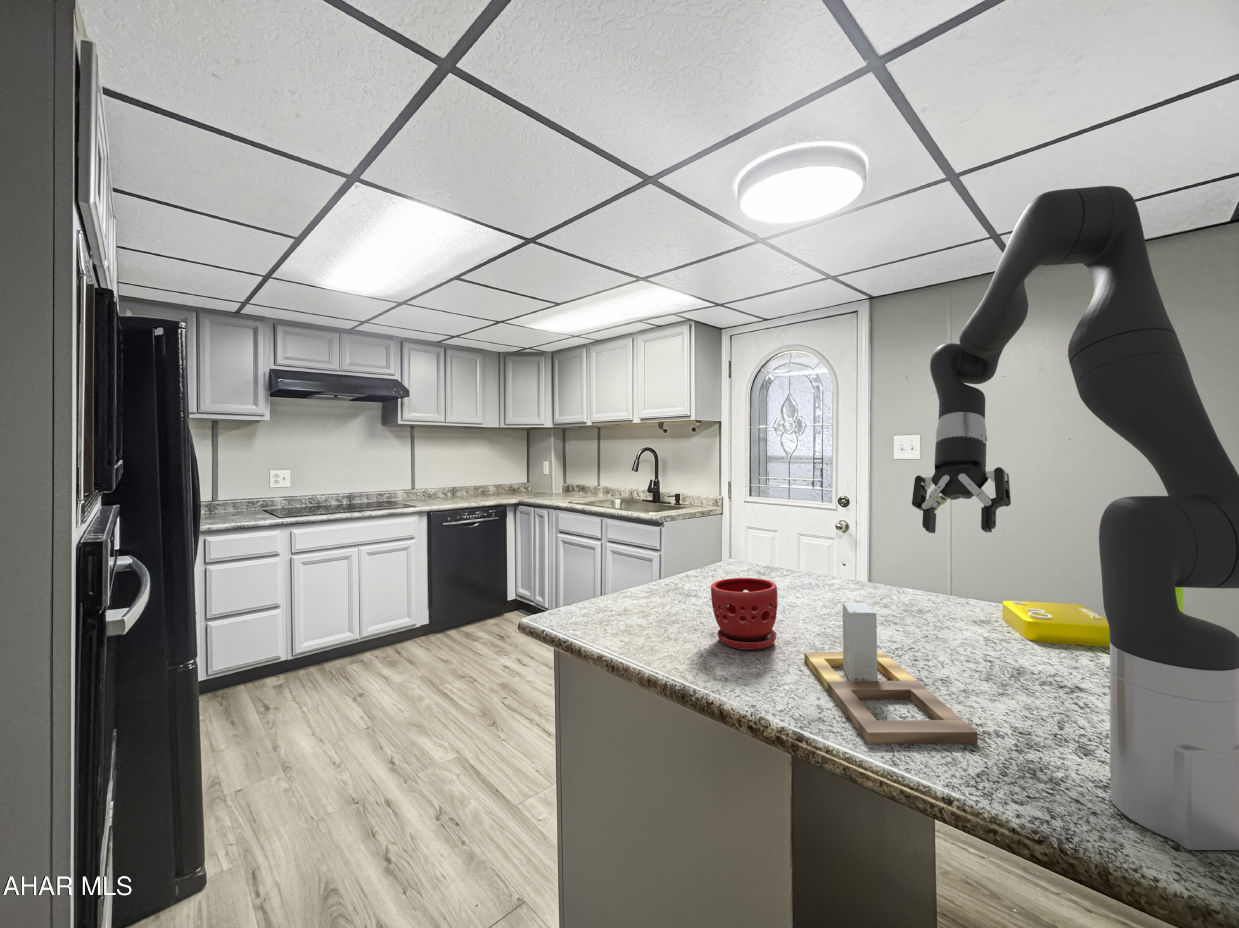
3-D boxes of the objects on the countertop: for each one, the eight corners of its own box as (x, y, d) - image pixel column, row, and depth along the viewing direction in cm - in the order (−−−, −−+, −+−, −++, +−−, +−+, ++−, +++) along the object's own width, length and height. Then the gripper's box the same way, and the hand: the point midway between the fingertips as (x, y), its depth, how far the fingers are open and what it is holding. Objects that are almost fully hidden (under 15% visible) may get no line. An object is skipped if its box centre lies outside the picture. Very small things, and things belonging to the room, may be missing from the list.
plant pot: (777, 632, 109) (776, 576, 109) (779, 657, 97) (778, 593, 96) (715, 628, 113) (713, 574, 113) (709, 651, 100) (707, 590, 100)
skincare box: (878, 686, 84) (877, 613, 83) (850, 684, 85) (849, 612, 84) (868, 670, 90) (867, 602, 89) (842, 669, 91) (841, 601, 90)
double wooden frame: (977, 743, 67) (977, 731, 67) (868, 743, 68) (867, 732, 68) (882, 659, 94) (882, 651, 94) (804, 660, 95) (804, 652, 95)
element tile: (1125, 650, 96) (1124, 625, 96) (1028, 643, 101) (1027, 618, 101) (1082, 624, 110) (1082, 601, 110) (999, 618, 115) (999, 597, 115)
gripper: (908, 441, 95) (902, 525, 90) (998, 427, 84) (997, 523, 78) (928, 457, 99) (923, 538, 94) (1017, 445, 87) (1017, 537, 82)
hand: (957, 531), depth 86 cm, fingers open, 8 cm apart
